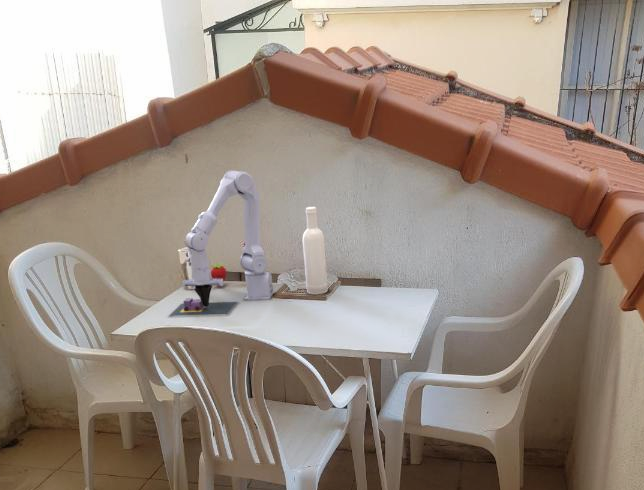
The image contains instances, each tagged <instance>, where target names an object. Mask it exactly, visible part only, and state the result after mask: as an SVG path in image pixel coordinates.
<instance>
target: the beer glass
mask: <svg viewBox="0 0 644 490" xmlns="http://www.w3.org/2000/svg"><path fill="white" fill-rule="evenodd" d="M178 257H179V262H180V267H181V270H182V272H183V275H184V280H192V279H194V278H193V272H192V266H191V260H190V253H189V248H188V247H187V246H186V247H181V248H179V249H178ZM185 289H186V290H195V286H186V287H185Z"/></svg>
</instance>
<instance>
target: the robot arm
mask: <svg viewBox="0 0 644 490" xmlns="http://www.w3.org/2000/svg"><path fill="white" fill-rule="evenodd" d="M236 195H239V196H240V197H241V198H242V199H243V216H244V246H243V247H242V249H241V256H240V259H239V262H240V266H241V268H242V269H243V270H244V278H245V286H246V294H247V295H246V296H245V297H244V300H266V299H267V300H268V299H271V297H272V296H273V294H274V293H275V292H274V286H273V277H272V273H271V272H268V271H267V272H266V269H267V268H268V267H267V266H268V262H267V260H266V257H265V252H264V250H263V248H262V246H261V215H260V213H261V211H260V210H261V209H260V206H261V205H260V192H259V190H258V188H257V185H256V183H255V179H254V177H253V176H252V175H251V174H249V173H248V172H247V171H237V170H234V169H230V170H228V171H226V172H225V174H224V176H223V178H222V179H221V180H220V184H219V187H218V189H217V191H216V193H215V195H214V197H213V199H212V201H211V202H210V205H209V207H208V209H207V210H206V211H203V212H201V214H198V216H197V218H198V220H197V221H196V222H195V224H194V226H193V227H191V229H190V230H191V231H190V232H188V233H187V234H186V236H185V240H184V244H185V246H186V247H188V248H189V253H190V260H191V266H192V272H193V278H194V279H192V280H185V279H184V280H182V281H181V286H182V288H186V286H195V289H194V291H195V293H196V294H197V296H198V298H199V299H201V301H202V303H203V306H204V307H207V306H208V305H209V303H210V296H211V292H212V288H213V286H218V285H219V286H218V287H223V286H224V282H223V279H214V278H212V277H211V273H210V268H209V267H210V266H209V261H208V256H207V249H206V248H207V247H208V244H209V239H208V238H209V237H210V235H211V233H212V232H213V230H214V228H215V226H216V224H217V223H218V219H217V216H218V215H219V213H220V212H221V210H222V208H223V207H224V205H225V204H226V203H227V201H228V200H229V198H231V197H233V196H236Z"/></svg>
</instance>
